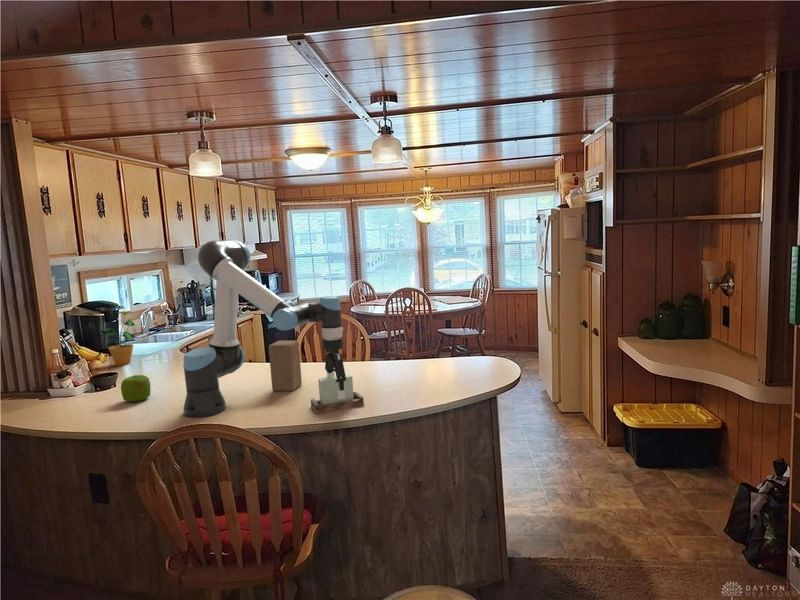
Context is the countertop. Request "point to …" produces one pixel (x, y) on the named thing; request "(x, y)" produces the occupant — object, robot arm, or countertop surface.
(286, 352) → the wooden block
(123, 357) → the potted plant
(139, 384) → the apple
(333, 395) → the rectangular block
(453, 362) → the countertop surface
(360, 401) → the track
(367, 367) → the countertop surface
